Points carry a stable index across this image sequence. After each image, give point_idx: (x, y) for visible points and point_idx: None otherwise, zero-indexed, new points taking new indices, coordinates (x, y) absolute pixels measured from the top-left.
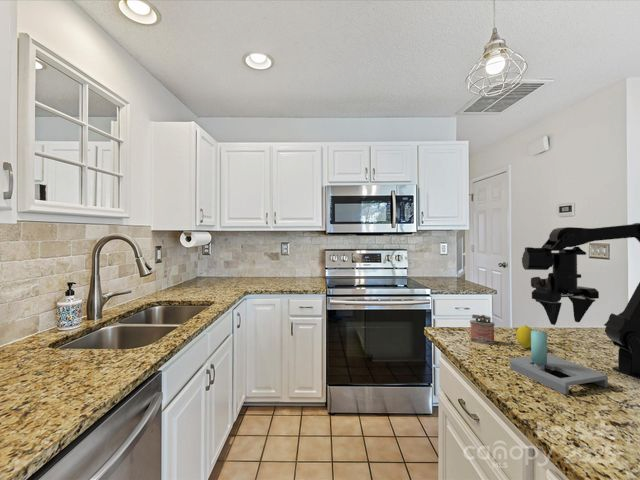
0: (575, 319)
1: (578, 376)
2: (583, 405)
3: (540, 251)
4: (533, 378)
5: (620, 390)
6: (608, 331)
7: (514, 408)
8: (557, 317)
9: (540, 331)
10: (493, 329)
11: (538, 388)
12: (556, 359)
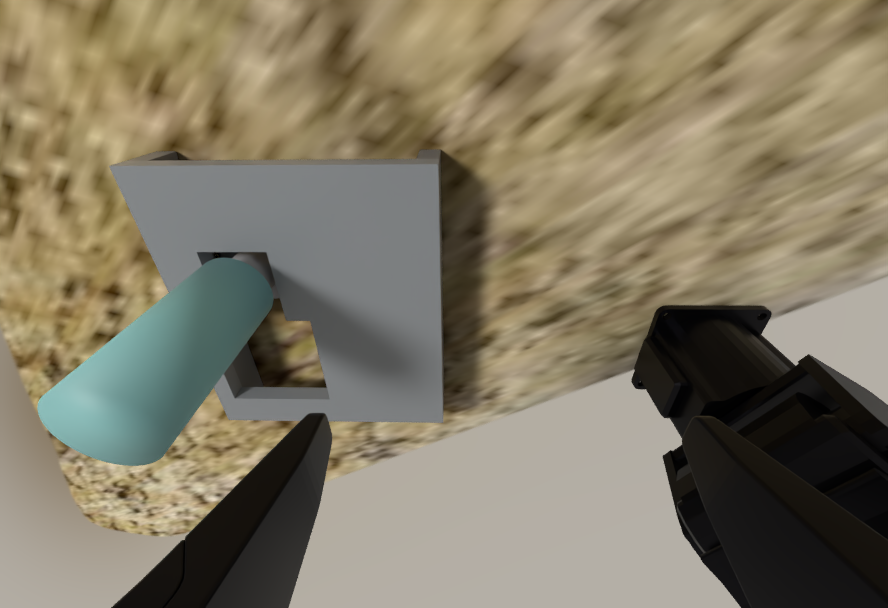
0: (705, 442)
1: (320, 405)
2: (255, 429)
3: None
4: None
5: (457, 408)
6: (791, 460)
7: (35, 397)
8: (295, 556)
9: (134, 420)
10: None
11: None
12: (397, 259)
